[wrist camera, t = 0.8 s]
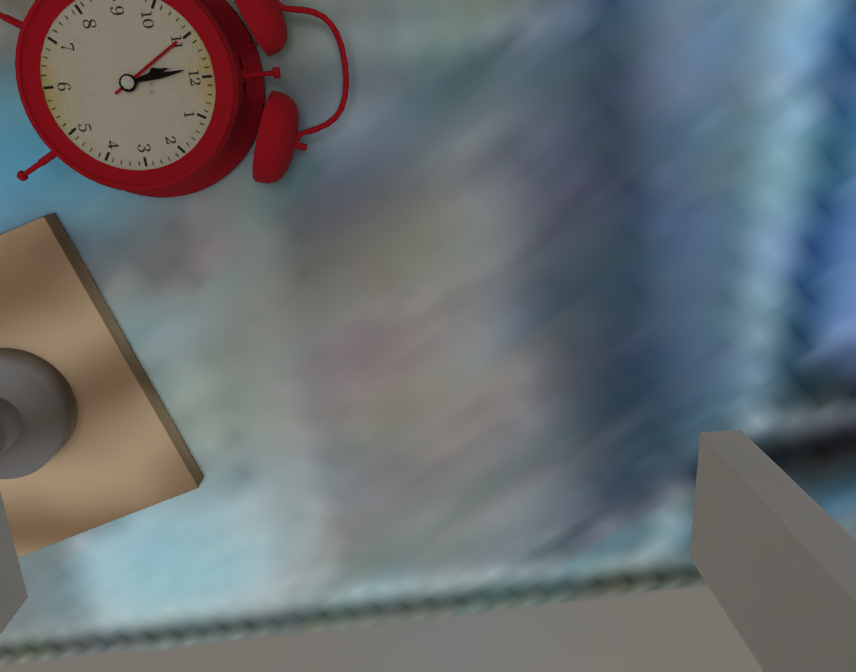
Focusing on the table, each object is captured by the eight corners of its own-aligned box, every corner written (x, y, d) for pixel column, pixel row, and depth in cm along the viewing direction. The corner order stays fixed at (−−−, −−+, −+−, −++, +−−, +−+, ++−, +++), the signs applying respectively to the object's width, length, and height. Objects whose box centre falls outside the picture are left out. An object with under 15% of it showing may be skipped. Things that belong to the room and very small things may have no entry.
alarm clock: (-57, -39, 29) (291, -92, 26) (48, -17, 35) (342, -59, 32) (11, 217, 32) (327, 196, 29) (97, 198, 38) (368, 179, 35)
